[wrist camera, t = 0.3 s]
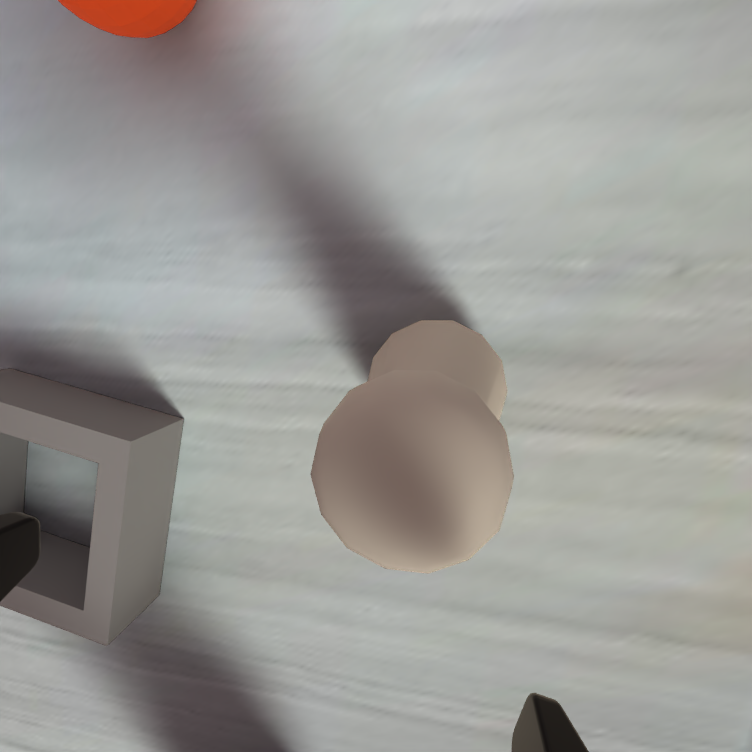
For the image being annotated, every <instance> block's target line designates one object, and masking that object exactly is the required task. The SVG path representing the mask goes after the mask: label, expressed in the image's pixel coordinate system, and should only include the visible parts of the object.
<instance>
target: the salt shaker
mask: <svg viewBox="0 0 752 752" xmlns="http://www.w3.org/2000/svg"><path fill="white" fill-rule="evenodd" d="M506 395H507V386H506V381H505V375H504V370H503V364H502V360H501V359H500V357H499V356H498V355H497V354H496V352H495V351H494V350H493V349H492V347H491V346H490V345H489V343H488V342H487V341H486V340H485V338H484V337H483V336H482V335H481V334H479V333H477V332H475V331H473V330H471V329H469V328H467V327H465V326H463V325H461V324H459V323H457V322H455V321H453V320H420V321H418V322H416V323H414V324H412V325H409V326H407V327H405V328H403V329H401V330H399V331H397V332H394V333H392V334H391V335H390V337H389V338H388V339H387V341H386V342H385V343H384V344H383V346H382V347H381V348H380V349H379V351H378V352H377V353H376V355H375V356H374V357H373V360H372V365H371V369H370V373H369V377H368V381H367V382H366V383H364V384H361V385H359V386H357V387H355V388H353V389H352V390H350V391H349V392H348V393H347V394H346V396H345V397H344V398H343V400H342V401H341V402H340V403H339V405H338V406H337V407H336V409H335V410H334V411H333V412H332V414H331V415H330V416H329V418H328V419H327V420H326V421H325V423H324V424H323V427H322V429H321V431H320V434H319V438H318V443H317V447H316V452H315V456H314V461H313V465H312V470H311V478H312V482H313V485H314V489H315V493H316V497H317V500H318V504H319V508H320V512H321V515H322V516H323V517H324V519H325V520H326V521H327V522H328V524H329V525H330V526H331V528H332V529H333V530H334V532H335V533H336V534H337V535H338V537H339V538H340V539H341V541H342V542H343V543H344V545H345V546H346V547H347V548H348V549H350V550H352V551H354V552H356V553H357V554H359V555H361V556H363V557H365V558H367V559H368V560H370V561H372V562H374V563H376V564H378V565H380V566H381V567H383V568H385V569H394V570H402V571H410V572H419V573H427V574H428V573H431V572H434V571H437V570H440V569H443V568H446V567H449V566H452V565H455V564H458V563H461V562H464V561H467V560H469V559H470V558H471V557H472V556H473V555H474V554H475V553H476V552H477V551H478V550H479V549H480V548H482V547H483V546H484V545H485V544H486V543H487V542H488V541H489V540H490V539H491V538H492V537H493V536H494V535H495V534H496V533H497V532H498V531H499V530H500V527H501V523H502V520H503V516H504V513H505V510H506V506H507V503H508V499H509V496H510V493H511V489H512V484H513V479H514V474H513V469H512V463H511V458H510V452H509V446H508V441H507V435H506V432H505V430H504V428H503V426H502V424H501V423H500V422H499V420H500V417H501V413H502V409H503V406H504V402H505V399H506Z"/></svg>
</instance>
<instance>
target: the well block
mask: <svg viewBox="0 0 752 752" xmlns="http://www.w3.org/2000/svg"><path fill="white" fill-rule="evenodd" d="M183 422H184V419H183V418H179V417H176V416H172V415H169V414H166V413H162V412H159V411H155V410H152V409H148V408H145V407H142V406H138V405H135V404H131V403H128V402H124V401H121V400H117V399H114V398H111V397H107V396H104V395H100V394H97V393H93V392H90V391H86V390H83V389H80V388H76V387H73V386H69V385H66V384H62V383H59V382H56V381H52V380H49V379H45V378H42V377H38V376H35V375H31V374H28V373H25V372H21V371H18V370H14V369H11V368H8V369H1V370H0V515H1V514H6V513H10V512H22V513H23V510H24V494H25V479H26V464H27V448H28V441H30V442H33V443H36V444H39V445H43V446H46V447H49V448H52V449H55V450H58V451H62V452H65V453H68V454H71V455H74V456H77V457H81V458H84V459H87V460H90V461H93V462H96V463H99V464H98V473H97V483H96V493H95V503H94V513H93V523H92V533H91V543H90V548H89V547H86V546H83V545H80V544H78V543H75V542H72V541H69V540H66V539H63V538H60V537H57V536H54V535H52V534H49V533H46V532H43V531H40V557H39V560H38V562H37V563H36V565H35V566H34V568H33V569H32V570H31V571H30V572H29V573H28V574H27V575H26V576H25V577H24V578H23V579H22V580H21V581H20V582H19V583H18V584H17V585H16V586H15V587H14V588H13V589H12V590H11V592H10V593H9V594H8V595H7V596H6V597H5V598H4V599H3V600H2V601H1V602H0V606H3V607H5V608H8V609H11V610H13V611H16V612H19V613H21V614H24V615H27V616H29V617H32V618H34V619H37V620H40V621H42V622H45V623H48V624H50V625H53V626H56V627H58V628H61V629H63V630H66V631H69V632H71V633H74V634H77V635H79V636H82V637H85V638H87V639H90V640H93V641H95V642H98V643H100V644H103V645H106V646H108V645H109V644H110V643H111V642H112V641H113V640H114V639H115V638H116V637H117V636H118V635H119V634H120V633H121V632H122V631H123V630H124V629H125V628H126V627H127V626H128V625H129V624H130V623H131V622H132V621H133V620H134V619H135V618H136V617H137V616H139V615H140V614H141V613H142V612H143V611H144V610H145V609H146V608H147V607H148V606H149V605H150V604H151V603H152V602H153V601H154V600H155V599H156V598H157V597H158V596H159V594H160V587H161V579H162V572H163V565H164V558H165V551H166V544H167V536H168V529H169V522H170V515H171V508H172V501H173V493H174V486H175V479H176V472H177V465H178V458H179V451H180V443H181V436H182V429H183Z"/></svg>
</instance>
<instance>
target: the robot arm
mask: <svg viewBox="0 0 752 752" xmlns="http://www.w3.org/2000/svg"><path fill="white" fill-rule="evenodd" d="M39 557H40V522H39V520H38V519H37V518H36V517H33V516H30V515H27V514H25V513H22V512H10V513H6V514H1V515H0V602H1V601H2V600H3V599H4V598H5V597H6V596H7V595H8V594H9V593H10V592H11V590H12V589H13V588H14V587H15V586H16V585H17V584H18V583H19V582H20V581H21V580H22V579H23V578H24V577H25V576H26V575H27V574H28V573H29V572H30V571H31V570H32V569H33V568H34V566H35V565H36V563H37V562H38V560H39ZM512 752H589V751H588V750H587V748H586V746H585V745H584V743H583V741H582V740H581V738H580V736H579V735H578V733H577V731H576V730H575V728H574V727H573V725H572V723H571V722H570V720H569V718H568V717H567V715H566V713H565V712H564V710H563V708H562V707H561V705H560V704H559V703H558V702H557V701H556V700H554V699H551V698H548V697H545V696H543V695H540V694H537V693H531V694H530V695H529V696H528V697H527V699H526V702H525V704H524V707H523V709H522V711H521V714H520V716H519V719H518V721H517V723H516V726H515V729H514V732H513V738H512Z"/></svg>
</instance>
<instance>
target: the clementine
mask: <svg viewBox="0 0 752 752" xmlns="http://www.w3.org/2000/svg"><path fill="white" fill-rule="evenodd" d="M58 1H59V2H60V3H61V4H62V5H63V6H65V7H66V8H67V9H68V10H70V11H71V12H72V13H74V14H75V15H76V16H78V17H79V18H80V19H82V20H84V21H86V22H87V23H89V24H91V25H93V26H95V27H97V28H99V29H101V30H104V31H107V32H109V33H112V34H115V35H118V36H126V37H137V38H149V37H153V36H156V35H159V34H163V33H165V32H167V31H169V30H170V29H172V28H173V27H175V26H176V25H178V24H179V23H181V22H182V21H183V20H184V19H185V18H186V17H187V15H188V14H189V13H190V12H191V11H192V9H193V7H194V5H195V3H196V1H197V0H58Z"/></svg>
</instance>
